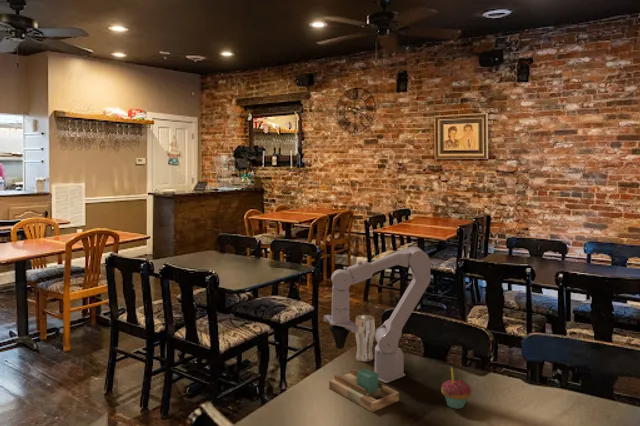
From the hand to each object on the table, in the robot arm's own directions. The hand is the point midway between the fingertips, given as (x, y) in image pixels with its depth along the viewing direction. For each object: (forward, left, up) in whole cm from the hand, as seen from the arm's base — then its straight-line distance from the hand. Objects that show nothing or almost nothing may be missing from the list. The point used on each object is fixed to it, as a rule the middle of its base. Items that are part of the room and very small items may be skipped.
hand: (340, 347), depth 166 cm
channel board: (+3, +14, -10) cm, 17 cm away
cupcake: (-14, +35, -10) cm, 39 cm away
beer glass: (-17, -6, -10) cm, 21 cm away
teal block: (+3, +15, -7) cm, 17 cm away
